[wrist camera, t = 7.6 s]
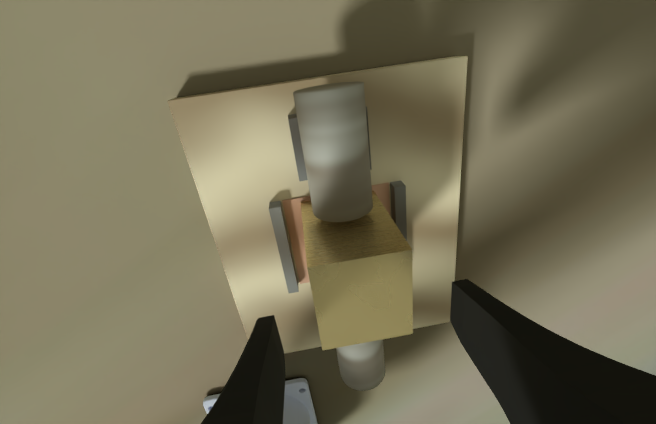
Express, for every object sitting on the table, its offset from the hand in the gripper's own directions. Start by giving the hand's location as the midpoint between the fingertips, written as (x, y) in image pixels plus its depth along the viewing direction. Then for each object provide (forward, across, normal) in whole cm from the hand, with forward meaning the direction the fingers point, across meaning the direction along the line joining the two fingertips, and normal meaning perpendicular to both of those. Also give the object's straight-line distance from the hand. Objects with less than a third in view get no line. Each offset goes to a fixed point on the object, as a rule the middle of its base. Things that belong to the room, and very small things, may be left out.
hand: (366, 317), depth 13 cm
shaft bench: (+8, 0, 0) cm, 8 cm away
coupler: (+6, 0, 0) cm, 6 cm away
